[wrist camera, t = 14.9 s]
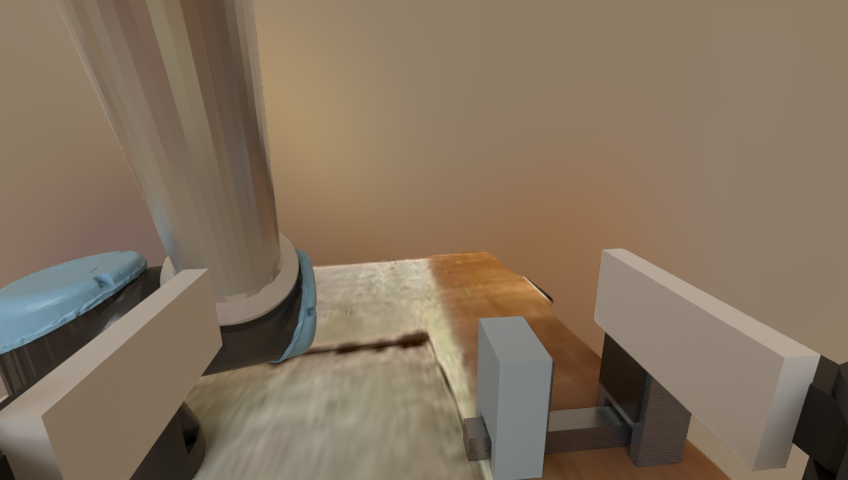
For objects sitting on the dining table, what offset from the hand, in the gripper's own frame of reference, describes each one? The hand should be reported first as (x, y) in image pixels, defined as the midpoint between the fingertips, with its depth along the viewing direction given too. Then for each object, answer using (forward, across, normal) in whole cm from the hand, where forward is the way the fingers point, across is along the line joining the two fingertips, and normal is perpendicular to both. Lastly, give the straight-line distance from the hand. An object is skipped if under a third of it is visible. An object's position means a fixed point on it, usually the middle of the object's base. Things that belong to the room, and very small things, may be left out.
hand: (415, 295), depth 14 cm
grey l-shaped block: (+23, +18, -30) cm, 42 cm away
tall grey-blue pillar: (+23, +12, -30) cm, 40 cm away
